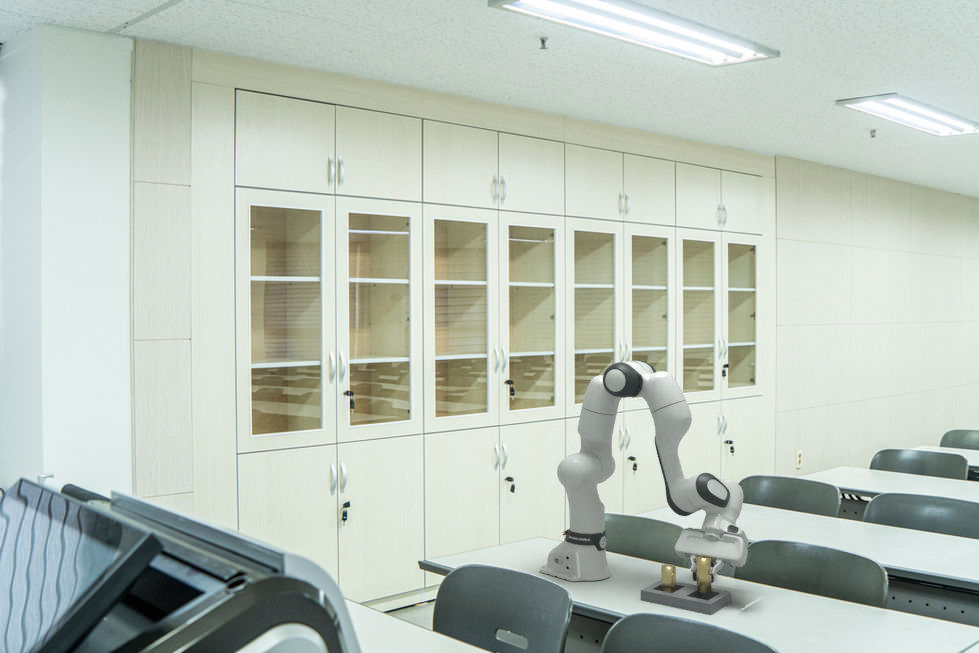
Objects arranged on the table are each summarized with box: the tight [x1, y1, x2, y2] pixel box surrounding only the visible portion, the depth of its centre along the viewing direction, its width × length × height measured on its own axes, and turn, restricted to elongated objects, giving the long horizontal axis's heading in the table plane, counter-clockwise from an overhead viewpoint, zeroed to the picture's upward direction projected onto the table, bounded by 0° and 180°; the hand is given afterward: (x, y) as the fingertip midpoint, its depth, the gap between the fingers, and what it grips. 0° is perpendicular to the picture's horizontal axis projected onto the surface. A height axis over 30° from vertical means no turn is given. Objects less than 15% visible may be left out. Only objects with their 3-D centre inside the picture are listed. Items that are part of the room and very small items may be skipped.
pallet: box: [640, 579, 732, 616], centre depth 243 cm, size 21×14×4 cm, turn 52°
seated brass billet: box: [661, 563, 677, 593], centre depth 246 cm, size 4×4×9 cm
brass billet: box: [696, 556, 712, 593], centre depth 240 cm, size 4×4×9 cm
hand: (702, 573), depth 239 cm, fingers closed on brass billet, 4 cm apart
